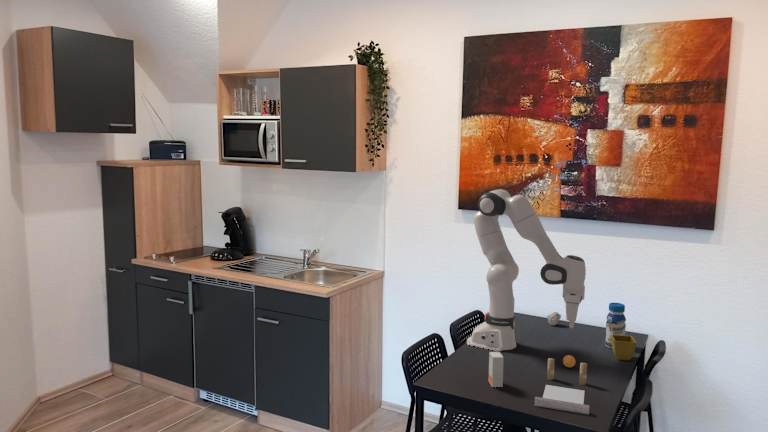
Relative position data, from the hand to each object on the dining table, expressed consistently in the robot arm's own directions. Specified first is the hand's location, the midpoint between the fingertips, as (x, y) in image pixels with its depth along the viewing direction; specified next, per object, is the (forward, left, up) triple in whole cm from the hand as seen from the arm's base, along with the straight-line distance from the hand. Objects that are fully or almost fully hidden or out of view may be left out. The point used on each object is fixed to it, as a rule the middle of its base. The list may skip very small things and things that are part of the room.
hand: (571, 325), depth 243 cm
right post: (+6, -25, -15) cm, 30 cm away
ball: (0, -9, -13) cm, 15 cm away
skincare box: (-25, -39, -15) cm, 49 cm away
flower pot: (+21, +11, -15) cm, 28 cm away
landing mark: (0, -39, -15) cm, 42 cm away
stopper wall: (0, -51, -15) cm, 53 cm away
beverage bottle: (+18, +26, -15) cm, 35 cm away
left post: (-6, -25, -15) cm, 30 cm away
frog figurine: (-11, +49, -15) cm, 52 cm away
